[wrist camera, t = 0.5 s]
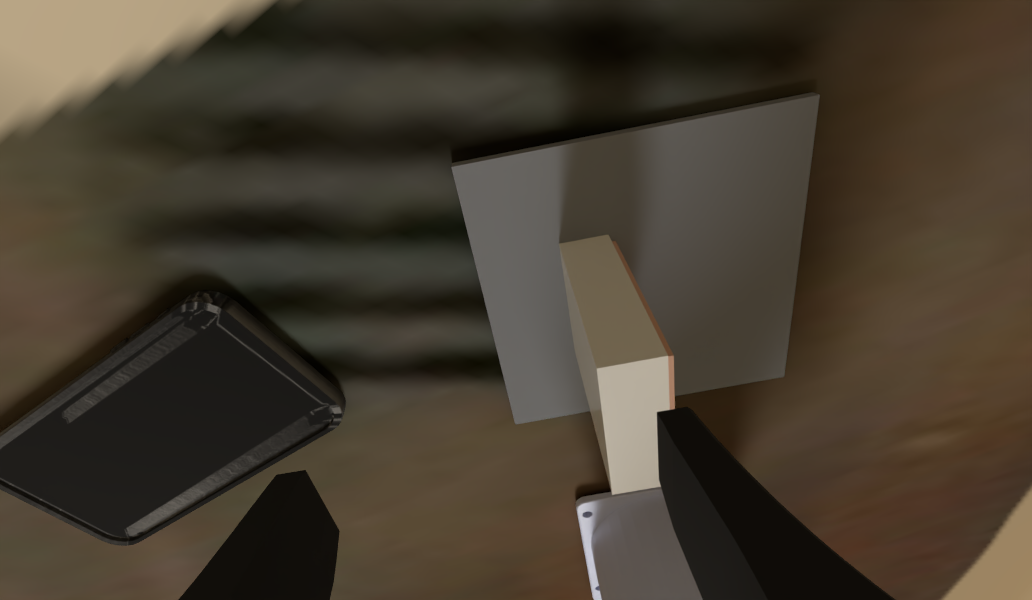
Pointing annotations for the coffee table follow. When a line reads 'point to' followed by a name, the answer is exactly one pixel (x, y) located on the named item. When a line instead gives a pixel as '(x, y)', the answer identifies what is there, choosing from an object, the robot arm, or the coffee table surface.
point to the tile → (618, 360)
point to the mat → (648, 243)
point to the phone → (167, 422)
